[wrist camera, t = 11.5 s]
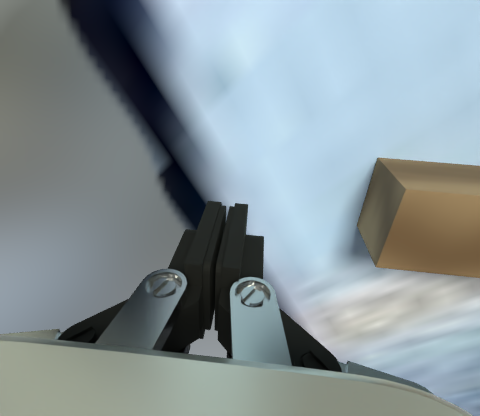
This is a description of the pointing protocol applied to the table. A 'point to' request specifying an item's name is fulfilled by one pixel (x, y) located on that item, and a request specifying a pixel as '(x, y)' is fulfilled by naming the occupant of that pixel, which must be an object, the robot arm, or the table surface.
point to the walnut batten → (423, 217)
